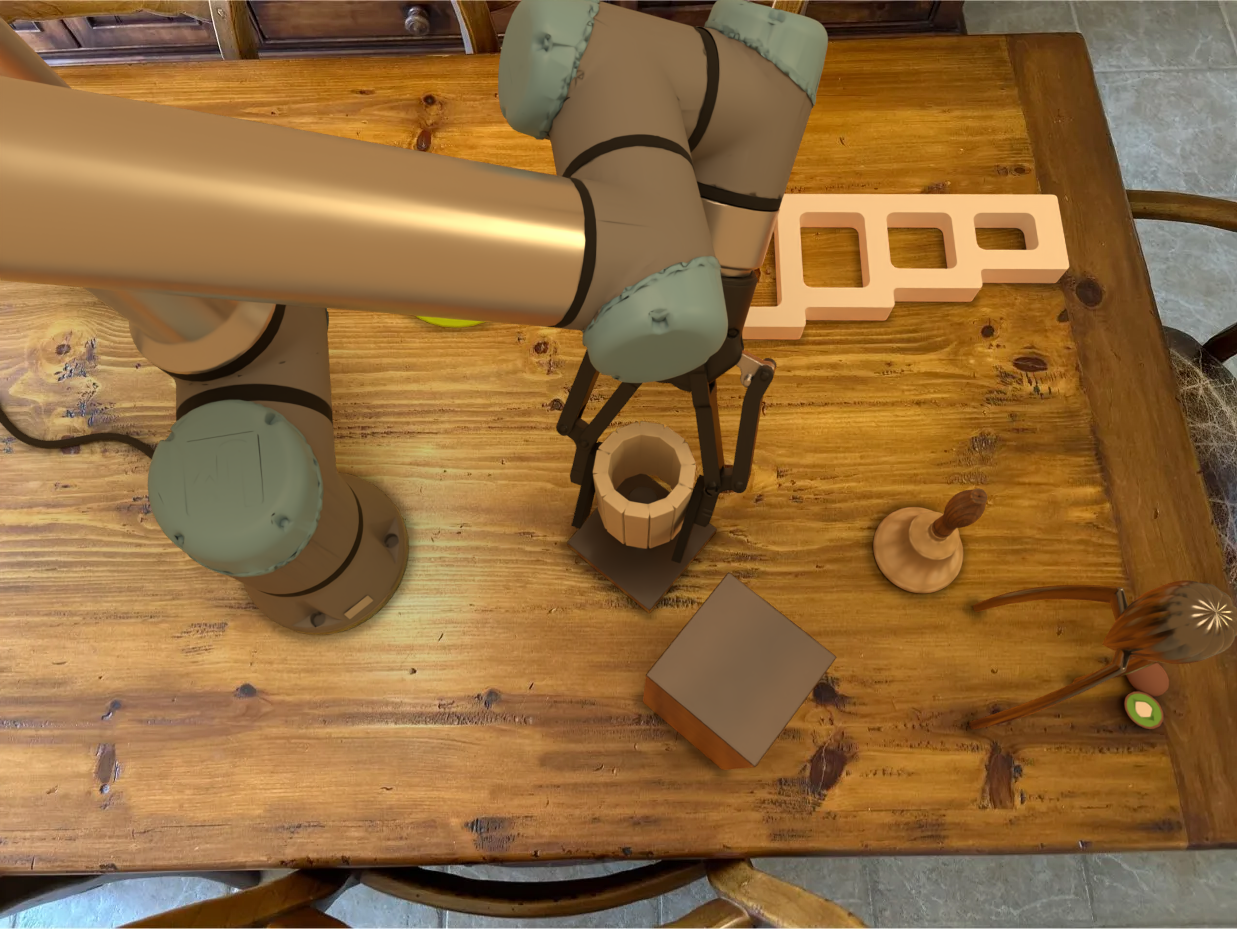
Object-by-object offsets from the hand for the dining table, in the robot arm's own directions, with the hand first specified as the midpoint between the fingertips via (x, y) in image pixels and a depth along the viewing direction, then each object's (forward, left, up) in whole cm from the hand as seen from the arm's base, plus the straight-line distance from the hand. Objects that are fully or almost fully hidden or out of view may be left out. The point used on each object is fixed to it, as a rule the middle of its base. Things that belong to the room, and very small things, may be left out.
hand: (629, 536), depth 70 cm
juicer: (+32, +13, -13) cm, 37 cm away
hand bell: (+19, +19, -13) cm, 30 cm away
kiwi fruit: (+41, +20, -13) cm, 48 cm away
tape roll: (-1, +3, -2) cm, 4 cm away
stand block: (+13, -4, -13) cm, 19 cm away
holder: (-3, +38, -13) cm, 40 cm away
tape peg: (-1, +3, -13) cm, 14 cm away
